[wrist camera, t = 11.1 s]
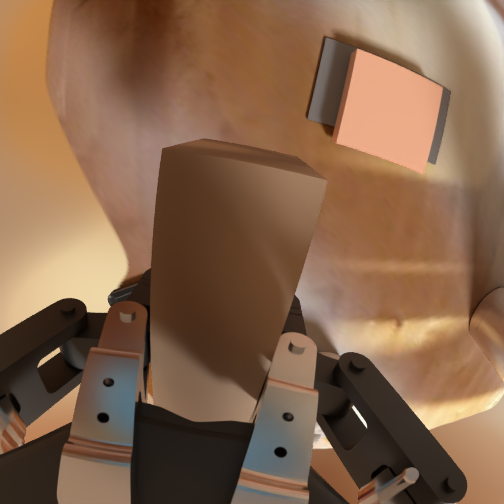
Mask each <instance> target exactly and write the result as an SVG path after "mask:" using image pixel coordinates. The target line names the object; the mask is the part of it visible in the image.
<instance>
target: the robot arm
mask: <svg viewBox="0 0 504 504" xmlns="http://www.w3.org/2000/svg"><path fill="white" fill-rule="evenodd" d="M150 288H151V268H150V269H149V270H147V271H146V272H145V273H144V274H143V276H142V277H141V279H140V280H139V282H138V284H137V285H136V286H135V288H134V289H133V291H132V292H131V294H130V295H129V297H128V298H127V300H126V301H121V302H118V303H115V304H114V305H112V306H111V307H110V308H109V311H108V313H90V312H87V310H86V306H85V304H84V303H83V302H82V301H80V300H78V299H74V298H66V299H62V300H59V301H57V302H55V303H53V304H52V305H50V306H48V307H46V308H45V309H43V310H41V311H39V312H38V313H36V314H34V315H32V316H31V317H29V318H27V319H26V320H24V321H22V322H21V323H19V324H17V325H16V326H14V327H12V328H10V329H9V330H7V331H6V332H4V333H2V334H1V335H0V504H349V503H348V502H347V501H346V500H345V499H344V498H343V497H342V496H341V495H340V494H339V493H338V492H336V491H335V490H334V489H333V488H332V487H331V486H330V485H329V484H328V483H327V482H326V481H325V480H324V479H323V478H322V477H321V476H320V475H319V474H318V473H317V472H316V471H315V470H314V469H313V468H312V467H311V466H310V463H311V456H312V448H313V441H314V433H315V424H316V421H317V423H318V425H319V426H320V428H321V429H322V431H323V433H324V434H325V436H326V438H327V439H328V441H329V442H330V444H331V446H332V447H333V449H334V450H335V452H336V454H337V455H338V457H339V458H340V460H341V461H342V463H343V465H344V466H345V468H346V469H347V471H348V472H349V474H350V476H351V477H352V479H353V480H354V482H355V483H356V485H357V486H358V488H359V489H360V490H359V493H358V497H357V500H358V502H357V504H455V503H457V502H459V501H460V500H461V499H462V498H463V497H464V496H465V493H466V491H467V480H466V477H465V475H464V474H463V472H462V471H461V470H460V469H459V468H458V466H457V465H456V464H455V463H454V461H453V460H452V459H451V457H450V456H449V455H448V454H447V452H446V451H445V450H444V449H443V448H442V446H441V445H440V444H439V442H438V441H437V440H436V439H435V438H434V436H433V435H432V434H431V433H430V431H429V430H428V429H427V428H426V427H425V425H424V424H423V423H422V422H421V420H420V419H419V418H418V417H417V416H416V414H415V413H414V412H413V411H412V410H411V408H410V407H409V406H408V405H407V404H406V402H405V401H404V400H403V399H402V398H401V396H400V395H399V394H398V393H397V392H396V390H395V389H394V388H393V387H392V386H391V384H390V383H389V382H388V381H387V380H386V379H385V377H384V376H383V375H382V374H381V373H380V371H379V370H378V369H377V368H376V367H375V366H374V364H373V363H372V362H371V361H370V360H369V359H368V358H367V357H365V356H363V355H361V354H359V353H354V352H348V353H344V354H342V355H341V356H340V358H339V360H337V359H334V358H331V357H328V356H325V355H323V354H321V353H319V352H317V347H316V344H315V343H314V342H313V341H312V340H311V339H310V338H309V337H307V334H306V329H305V324H304V320H303V316H302V310H301V305H300V301H299V299H298V298H297V297H296V296H295V295H294V298H293V301H292V304H291V307H290V310H289V313H288V316H287V319H286V322H285V325H284V328H283V331H282V334H281V336H280V339H279V342H278V345H277V348H276V351H275V352H274V355H273V358H272V361H271V364H270V367H269V370H268V373H267V376H266V378H265V381H264V384H263V386H262V389H261V392H260V393H259V396H258V399H257V401H256V404H255V408H254V411H253V414H252V417H251V420H250V423H248V422H240V421H232V420H229V421H210V422H194V421H191V420H189V419H186V418H184V417H182V416H179V415H177V414H175V413H173V412H171V411H169V410H166V409H164V408H162V407H160V406H156V405H151V404H148V403H147V394H148V377H149V362H150V360H151V345H150ZM469 330H470V334H471V336H472V337H473V338H474V340H475V341H476V342H477V344H478V345H479V346H480V348H481V349H482V351H483V352H484V354H485V355H486V356H487V358H488V359H489V361H490V362H491V364H492V365H493V367H494V368H495V370H496V371H497V373H498V374H499V376H500V377H501V379H502V380H503V382H504V287H502V288H498V289H495V290H494V291H492V292H491V293H489V294H488V295H487V296H486V297H485V298H484V299H483V300H482V301H481V303H480V304H479V305H478V307H477V308H476V310H475V312H474V314H473V316H472V318H471V321H470V326H469ZM58 347H59V348H60V351H61V352H60V353H58V354H57V355H55V356H54V357H53V358H51V359H50V360H48V361H47V362H45V363H44V364H43V365H41V366H40V367H39V368H37V366H38V363H39V362H40V360H41V359H42V358H44V357H45V356H47V355H48V354H50V353H51V352H52V351H54V350H55V349H57V348H58ZM80 383H81V384H80ZM79 384H80V388H79V393H78V397H77V402H76V406H75V411H74V415H73V420H72V422H70V423H68V424H66V425H64V426H62V427H60V428H58V429H56V430H54V431H52V432H50V433H48V434H46V435H43V436H41V437H39V438H37V439H35V440H32V441H30V442H28V443H26V444H25V440H24V438H25V434H26V427H27V426H29V425H30V424H31V423H32V422H34V421H35V420H36V419H37V418H39V417H40V416H41V415H42V414H43V413H45V412H46V411H47V410H48V409H49V408H51V407H52V406H53V405H54V404H55V403H57V402H58V401H59V400H60V399H62V398H63V397H64V396H65V395H67V394H68V393H69V392H70V391H71V390H73V389H74V388H75V387H76V386H78V385H79ZM353 405H354V406H355V407H356V409H357V410H358V411H359V413H360V414H361V416H362V417H363V418H364V420H365V421H366V423H367V428H366V427H365V426H364V424H363V423H362V421H361V420H360V419H359V417H358V416H357V414H356V413H355V412H354V410H353V409H352V407H353Z"/></svg>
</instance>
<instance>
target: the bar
mask: <svg viewBox="0 0 504 504" xmlns="http://www.w3.org/2000/svg"><path fill="white" fill-rule="evenodd" d="M327 182H328V180H327V179H325V178H324V177H323V176H322V175H320V174H319V173H318V172H316V171H315V170H314V169H313V168H311V167H310V166H309V165H307V164H306V163H305V162H303V161H302V160H301V159H299V158H298V157H296V156H292V155H288V154H284V153H279V152H274V151H270V150H265V149H260V148H255V147H250V146H245V145H240V144H234V143H229V142H223V141H217V140H211V139H200V140H195V141H191V142H187V143H182V144H178V145H174V146H170V147H166V148H163V149H162V154H161V161H160V169H159V177H158V186H157V195H156V205H155V216H154V228H153V243H152V260H151V288H150V345H151V372H152V389H153V403H154V405H156V406H160V407H162V408H164V409H166V410H169V411H171V412H173V413H175V414H177V415H179V416H182V417H184V418H186V419H189V420H191V421H194V422H210V421H229V420H232V421H240V422H249V420H250V417H251V415H252V412H253V410H254V407H255V404H256V401H257V399H258V396H259V393H260V392H261V389H262V386H263V384H264V381H265V378H266V376H267V373H268V370H269V367H270V364H271V361H272V358H273V355H274V352H275V351H276V348H277V345H278V342H279V339H280V336H281V334H282V331H283V328H284V325H285V322H286V319H287V316H288V313H289V310H290V307H291V304H292V301H293V298H294V295H295V292H296V288H297V285H298V282H299V279H300V276H301V273H302V269H303V266H304V263H305V260H306V256H307V253H308V250H309V246H310V243H311V240H312V236H313V233H314V229H315V226H316V222H317V219H318V215H319V212H320V208H321V205H322V201H323V197H324V194H325V190H326V186H327Z"/></svg>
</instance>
